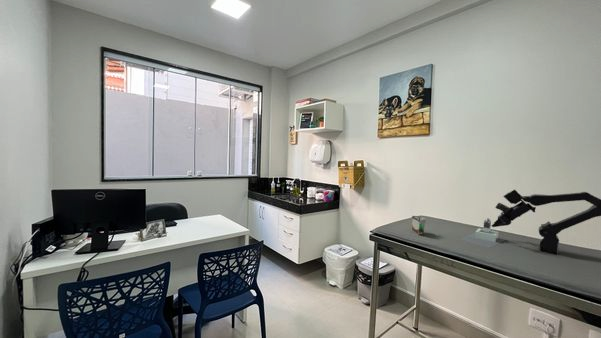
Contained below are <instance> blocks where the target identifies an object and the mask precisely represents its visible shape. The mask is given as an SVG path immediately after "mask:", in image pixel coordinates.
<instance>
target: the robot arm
mask: <svg viewBox="0 0 601 338" xmlns="http://www.w3.org/2000/svg"><path fill="white" fill-rule="evenodd" d="M502 197H503V198H504V199H505V200H506V201H508V202H509V203H510V204H513V206H510V207H509V206H507V205H505V204H503V203H502V202H498V203H497V204H496V205H495V209H497V210H499V211H501V213H500V214H499V215H498V216H497V219H496V220H495V221H494V222H493V223H492V224H491V228H496V227H505V226H509V225H511V224H512V221H515V219H517V218H520V217H521V216H523V215H524V214H526V213H528V212H530V211H532V212H533V213H536V209H537V208H536V207H539V206H544V205H549V204H552V203H561V202H562V203H565V202H576V201H577V202H578V201H579V202H580V201H586V202H587V203H590V204H591V206H590V207H588V208H587V209H586V210H583V211H581V212H579V213H576V214H574V215H572V216H568V217H567V218H564V219H561V220H559V221H557V222H552V223H551V222H550V221H546V222H545V223H541V224H540V226H539V227H538V234H539V235H540V237H542V239H541V240H540V241H539V251H541V252H545V253H549V254H552V255H558V254H559V253H560V251H559V250H560V238H559V237H558V234H559V233H560V232H562V231H564V230H566V229H569V228H571V227H573V226H576V225H578V224H582V223H583V222H586V221H588V220H590V219H594V218H597V217H601V198H600V197H597V196H595V195H593V194H591V193H590V192H588V191H581V192H574V193H573V192H572V193H560V194H551V195H550V194H536V193H534V194H531V195H523V196H522V194H520V193H519V192H518V191H517V190H516V189H513V190H510V191H508V192H507V193H506V194H505V195H503V196H502Z"/></svg>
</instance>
